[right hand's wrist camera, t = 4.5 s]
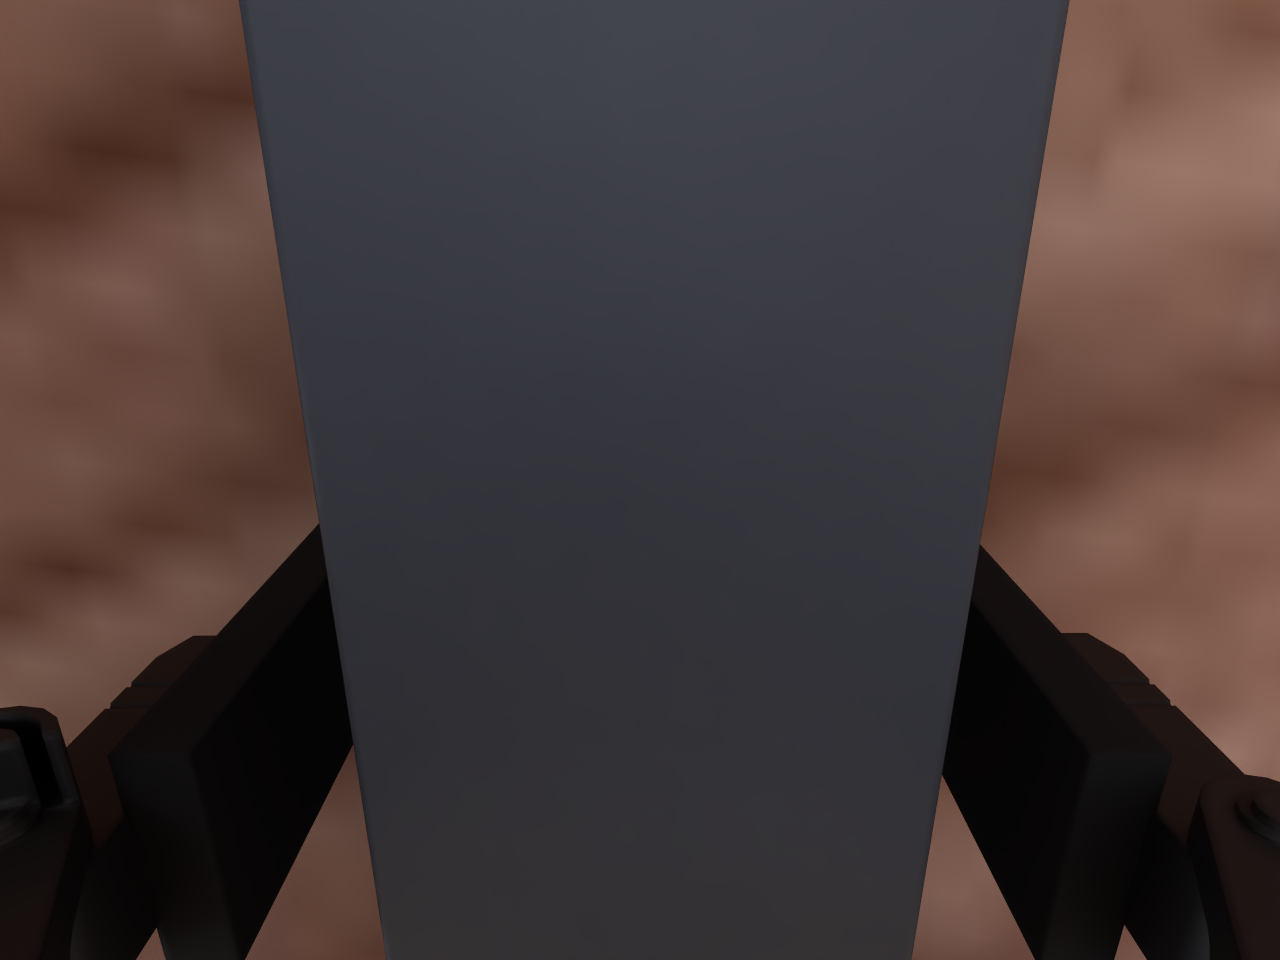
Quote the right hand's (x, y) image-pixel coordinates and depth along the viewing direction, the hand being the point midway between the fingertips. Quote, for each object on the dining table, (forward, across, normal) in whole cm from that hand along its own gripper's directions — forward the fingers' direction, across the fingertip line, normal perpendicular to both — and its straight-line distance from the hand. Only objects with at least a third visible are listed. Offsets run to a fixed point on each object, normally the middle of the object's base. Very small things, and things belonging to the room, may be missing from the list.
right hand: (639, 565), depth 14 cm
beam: (+1, 0, -20) cm, 20 cm away
